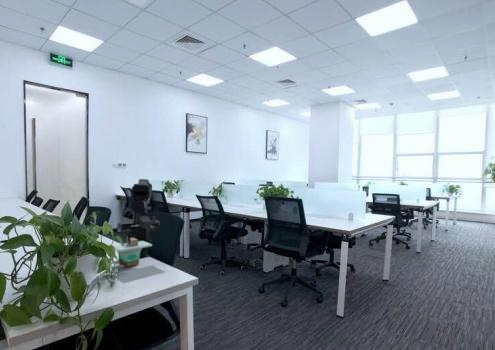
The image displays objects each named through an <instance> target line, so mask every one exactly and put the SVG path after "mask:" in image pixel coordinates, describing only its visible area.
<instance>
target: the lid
mask: <svg viewBox="0 0 495 350" xmlns="http://www.w3.org/2000/svg"><path fill="white" fill-rule="evenodd" d="M121 244H122V243H121ZM121 244H115V245H114V246H115V248H116V249H115V251H117V250H118V251H120V252H122V251H127V250H133V249H139V248H144V247H147V248H149V247H153V244H152V243H151V244H150V243H147V242H145V241H138V239H135V238H134V237H130V244H128V242H127V241H126V243H123V244H124V246H122V245H121Z"/></svg>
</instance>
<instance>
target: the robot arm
mask: <svg viewBox="0 0 495 350" xmlns="http://www.w3.org/2000/svg"><path fill="white" fill-rule="evenodd" d="M149 181H150V180H149V179H148V178H147V179H145V178H139V179H138V183H134V184H133V185H132V186H131V194H130V199H132V200H133V199H134V200H133V202H132V203H131V205H130V207H131V208H130V209H131V210H132V212H131V213H132V215H133V217H132V220H131V222H126V221H124V222H118V223H117V225H116V227H117V228H116V229H117V230H119V231H121V232H123V234H124V235H123V236H124V237H125V240H126V243H127V242H128V244H130V238H131V232H132V230H131V228H137V229H136V230H135V232H134V236H133V238H135V239H138V241H145V242H147V243H150V244H152V238H151V237H152V234H153V232H154V231H155V230H157V229H158V227H160V226H161V222H160V221H159V220H157V219H156V216H155V215H154V216H152V215H151V216H149V215H148V202H149V201H150V199H151V198H152V197H151V196H152V194H153V184H152V183H150V182H149ZM146 257H147V258H150V255H148V247H144V248H142V250H140V258H139V260H140V259H146Z"/></svg>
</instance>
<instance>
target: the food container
mask: <svg viewBox="0 0 495 350" xmlns="http://www.w3.org/2000/svg"><path fill="white" fill-rule="evenodd" d="M140 250H142V248H139V249H133V250H127V251H122V252H120V251H118V250H116V252H117V253H118V265H119V266H118V267H119V268H123V269H129V268H131V269H132V268H135V267H137V266H139V264H140V259H139V258H140Z"/></svg>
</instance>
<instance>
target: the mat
mask: <svg viewBox="0 0 495 350" xmlns="http://www.w3.org/2000/svg"><path fill="white" fill-rule="evenodd" d="M163 273H164V274H165V273H166V271H164V270H163V269H160V268H159V267H157V266H154V265H147V266H143V267H139V268H134V269H131V270H126V271H122V272H118V273H116V274H117V276H116V278H115V279H117V280H118V281H119V282H121V283H122V284H126V283H130V282H134V281H137V280H141V279H145V278H149V277H152V276H153V277H154V276H157V275H161V274H163Z"/></svg>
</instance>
